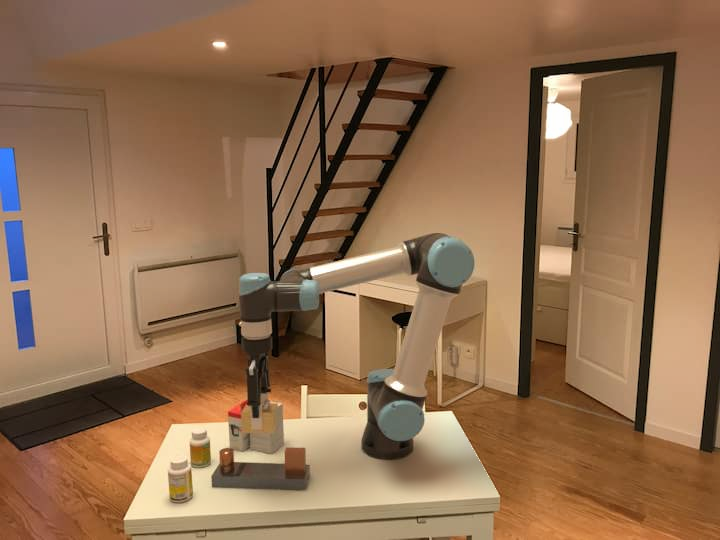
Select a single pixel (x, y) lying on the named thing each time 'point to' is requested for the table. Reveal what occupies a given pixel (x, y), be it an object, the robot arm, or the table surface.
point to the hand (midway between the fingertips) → (260, 422)
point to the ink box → (237, 429)
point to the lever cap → (267, 414)
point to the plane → (263, 472)
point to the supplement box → (269, 436)
